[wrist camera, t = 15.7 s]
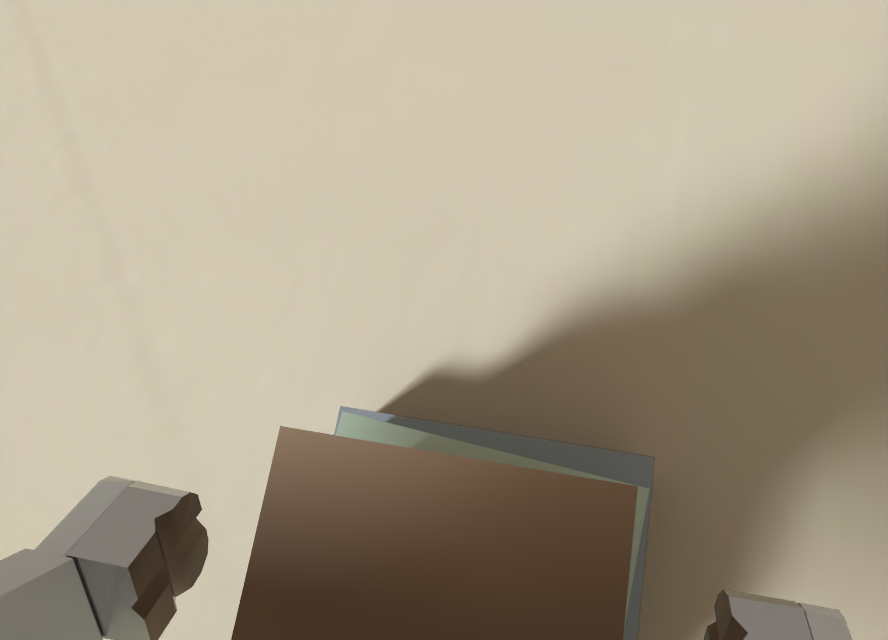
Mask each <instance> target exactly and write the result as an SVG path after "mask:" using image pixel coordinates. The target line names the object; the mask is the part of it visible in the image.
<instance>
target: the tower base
mask: <svg viewBox="0 0 888 640" xmlns="http://www.w3.org/2000/svg"><path fill="white" fill-rule="evenodd" d="M342 412H347V413H351V414H355V415H359V416H363V417H367V418H371V419H375V420H379V421H383V422H387V423H391V424H395V425H399V426H403V427H407V428H411V429H415V430H419V431H423V432H427V433H430V434H434V435H438V436H442V437H446V438H450V439H454V440H458V441H462V442H466V443H470V444H474V445H478V446H482V447H486V448H490V449H494V450H498V451H502V452H506V453H510V454H514V455H518V456H521V457H525V458H529V459H533V460H537V461H541V462H545V463H549V464H553V465H557V466H561V467H565V468H569V469H573V470H577V471H581V472H585V473H589V474H593V475H597V476H601V477H605V478H609V479H612V480H616V481H620V482H624V483H628V484H632V485H636V486H640V487H644V488H648V489H649V494H648V500H647V505H646V511H645V516H644V522H643V527H642V533H641V538H640V544H639V549H638V555H637V560H636V566H635V572H634V577H633V583H632V588H631V594H630V599H629V605H628V610H627V616H626V621H625V627H624V635H623V640H637V637H638V626H639V616H640V606H641V595H642V585H643V574H644V564H645V553H646V543H647V533H648V522H649V512H650V501H651V491H652V481H653V470H654V460H655V457H650V456H644V455H638V454H632V453H626V452H619V451H613V450H607V449H601V448H595V447H589V446H583V445H576V444H570V443H564V442H558V441H552V440H546V439H539V438H533V437H527V436H521V435H515V434H509V433H503V432H496V431H490V430H484V429H478V428H472V427H466V426H460V425H453V424H447V423H441V422H435V421H429V420H423V419H417V418H410V417H404V416H398V415H392V414H386V413H380V412H373V411H367V410H361V409H355V408H349V407H343V406H340V410H339V415H338V420H337V424H336V429H335V434H334V435H336V432H337V429H338V425H339V422H340V418H341V415H342Z"/></svg>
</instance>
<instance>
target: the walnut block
mask: <svg viewBox="0 0 888 640" xmlns="http://www.w3.org/2000/svg"><path fill="white" fill-rule="evenodd" d="M637 492H638V486H633V485H627V484H621V483H615V482H610V481H604V480H598V479H592V478H586V477H580V476H574V475H568V474H562V473H556V472H550V471H544V470H538V469H532V468H526V467H520V466H514V465H508V464H502V463H497V462H491V461H485V460H479V459H473V458H467V457H461V456H455V455H449V454H443V453H437V452H431V451H425V450H419V449H413V448H407V447H401V446H395V445H389V444H384V443H378V442H372V441H366V440H360V439H354V438H348V437H342V436H336V435H330V434H324V433H318V432H312V431H306V430H300V429H294V428H288V427H282V426H280V430H279V434H278V439H277V443H276V447H275V452H274V456H273V460H272V465H271V469H270V473H269V478H268V482H267V487H266V491H265V495H264V500H263V504H262V508H261V513H260V517H259V521H258V526H257V530H256V534H255V539H254V543H253V547H252V552H251V556H250V560H249V565H248V569H247V573H246V578H245V582H244V587H243V591H242V595H241V600H240V604H239V608H238V613H237V617H236V621H235V626H234V630H233V634H232V639H231V640H623V635H624V624H625V614H626V604H627V594H628V584H629V573H630V563H631V553H632V543H633V532H634V522H635V512H636V502H637Z"/></svg>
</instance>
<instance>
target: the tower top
mask: <svg viewBox="0 0 888 640" xmlns="http://www.w3.org/2000/svg"><path fill="white" fill-rule="evenodd" d="M336 436H342V437H348V438H354V439H360V440H366V441H372V442H378V443H384V444H389V445H395V446H401V447H407V448H413V449H419V450H425V451H431V452H437V453H443V454H449V455H455V456H461V457H467V458H473V459H479V460H485V461H491V462H497V463H502V464H508V465H514V466H520V467H526V468H532V469H538V470H544V471H550V472H556V473H562V474H568V475H574V476H580V477H586V478H592V479H598V480H604V481H610V482H615V483H621V484H627V485H632V484H628V483H624V482H620V481H616V480H612V479H609V478H605V477H601V476H597V475H593V474H589V473H585V472H581V471H577V470H573V469H569V468H565V467H561V466H557V465H553V464H549V463H545V462H541V461H537V460H533V459H529V458H525V457H521V456H518V455H514V454H510V453H506V452H502V451H498V450H494V449H490V448H486V447H482V446H478V445H474V444H470V443H466V442H462V441H458V440H454V439H450V438H446V437H442V436H438V435H434V434H430V433H427V432H423V431H419V430H415V429H411V428H407V427H403V426H399V425H395V424H391V423H387V422H383V421H379V420H375V419H371V418H367V417H363V416H359V415H355V414H351V413H347V412H342V415H341V418H340V422H339V425H338V429H337V432H336ZM633 486H636V485H633ZM648 494H649V489H648V488H644V487H640V486H638V492H637V502H636V512H635V522H634V532H633V543H632V553H631V563H630V573H629V584H628V594H627V604H626V614H625V621H626V616H627V610H628V605H629V599H630V594H631V588H632V583H633V577H634V572H635V566H636V560H637V555H638V549H639V544H640V538H641V533H642V527H643V522H644V516H645V511H646V505H647V500H648ZM624 627H625V624H624Z"/></svg>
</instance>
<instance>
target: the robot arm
mask: <svg viewBox="0 0 888 640" xmlns="http://www.w3.org/2000/svg"><path fill="white" fill-rule="evenodd" d="M201 510H202V508H201V505H200V501H199V497H198V495H197V494H194V493H191V492H187V491H182V490H177V489H173V488H168V487H163V486H159V485H154V484H149V483H145V482H140V481H134V480H129V479H124V478H119V477H114V476H109V477H107V478H105V479H103V480H100V481H99V482H98V483H97V484H96V485H95V486H94V487H93V488H92V489H91V491H90V492H89V493H88V494H87V495H86V496H85V497H84V498H83V499H82V500H81V501H80V502H79V503H78V504H77V505H76V506H75V507H74V508H73V510H72V511H71V512H70V513H69V514H68V515H67V516H66V517H65V518H64V519H63V520H62V521H61V522H60V523H59V524H58V525H57V526H56V528H55V529H54V530H53V531H52V532H51V533H50V534H49V535H48V536H47V537H46V538H45V539H44V540H43V541H42V542H41V543H40V544H39V545H38V547H37V548H36V549H35V550H32V549H24V550H22V551H19V552H17V553H15V554H13V555H11V556H9V557H7V558H5V559H3V560H1V561H0V640H103V639H102V638H106V639H111V640H158V639H159V637H160V636H161V634H162V633H163V631H164V630H165V628H166V627H167V625H168V624H169V622H170V620H171V619H172V617H173V616H174V614H175V613H176V611H177V608H176V597H177V596H178V595H180V594H182V593H183V592H185V591H187V590H188V589H190V588H191V587H192V586H193V585H194V583H195V582H196V580H197V578H198V577H199V575H200V573H201V572H202V569H203V566H204V563H205V560H206V557H207V554H208V536H207V531H206V529H205V527H204V526H203V525H202V524H201V523H200V522H199V521H198V520H197V519H196V517H197V516H198V514H199V513H200V511H201ZM715 613H716V620H717V621H716V622H715V623H713V624H711V625H709V626H708V627H707V630H706V634H705V637H704V640H852V638H851V635H850V632H849V629H848V626H847V623H846V620H845V618H844V616H843V615H842V614H841V613H840V611H839V610H836V609H830V608H825V607H819V606H814V605H808V604H803V603H796V602H795V601H789V600H783V599H777V598H771V597H765V596H760V595H754V594H748V593H742V592H736V591H730V590H725V589H723V590H722V591H721V592H720V593H719V595H718V598H717V600H716V603H715Z"/></svg>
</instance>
